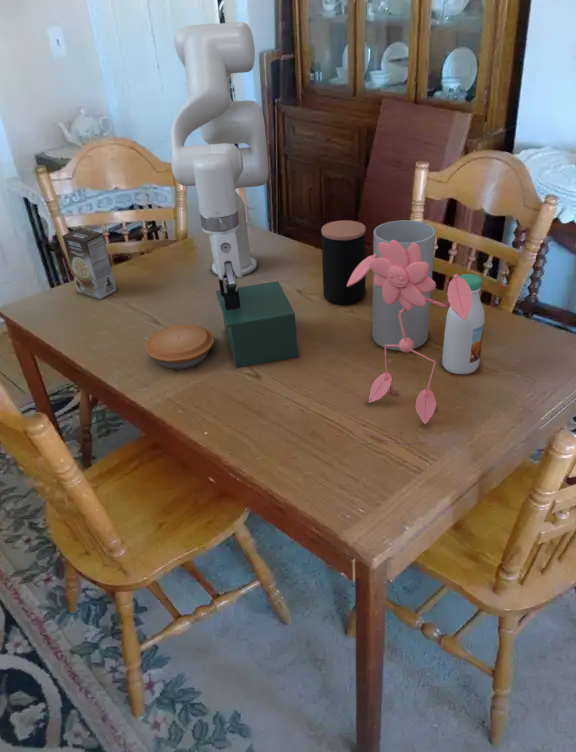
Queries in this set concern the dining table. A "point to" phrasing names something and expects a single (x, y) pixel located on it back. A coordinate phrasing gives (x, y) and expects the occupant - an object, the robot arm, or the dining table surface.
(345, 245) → the coffee jar
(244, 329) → the bread bin
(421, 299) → the figurine
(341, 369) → the dining table surface
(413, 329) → the cylinder vase
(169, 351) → the pie
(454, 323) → the milk bottle
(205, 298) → the dining table surface
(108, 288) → the coffee box
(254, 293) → the bread bin lid
